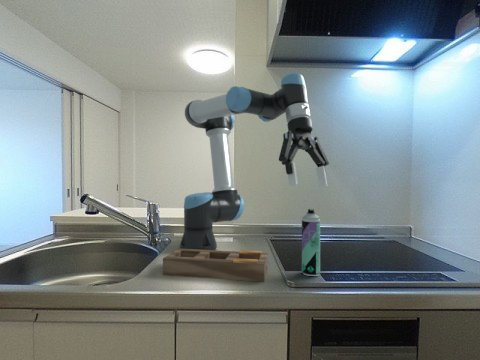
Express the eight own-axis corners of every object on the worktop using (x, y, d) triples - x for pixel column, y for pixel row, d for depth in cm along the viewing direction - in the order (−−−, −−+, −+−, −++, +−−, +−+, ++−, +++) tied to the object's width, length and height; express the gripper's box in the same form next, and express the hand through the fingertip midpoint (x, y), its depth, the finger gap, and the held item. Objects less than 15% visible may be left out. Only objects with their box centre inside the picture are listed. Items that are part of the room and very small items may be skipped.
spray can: (306, 270, 88) (306, 207, 88) (323, 273, 85) (323, 208, 85) (298, 274, 84) (298, 209, 84) (315, 278, 80) (315, 210, 80)
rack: (178, 262, 96) (178, 247, 96) (267, 268, 90) (267, 251, 90) (162, 274, 84) (162, 256, 84) (264, 281, 78) (264, 262, 78)
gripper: (278, 107, 77) (289, 181, 72) (332, 122, 92) (344, 184, 87) (261, 118, 83) (270, 187, 78) (315, 131, 97) (325, 189, 93)
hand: (309, 186), depth 83 cm, fingers open, 13 cm apart
